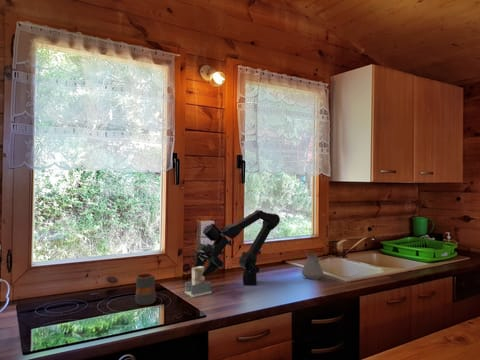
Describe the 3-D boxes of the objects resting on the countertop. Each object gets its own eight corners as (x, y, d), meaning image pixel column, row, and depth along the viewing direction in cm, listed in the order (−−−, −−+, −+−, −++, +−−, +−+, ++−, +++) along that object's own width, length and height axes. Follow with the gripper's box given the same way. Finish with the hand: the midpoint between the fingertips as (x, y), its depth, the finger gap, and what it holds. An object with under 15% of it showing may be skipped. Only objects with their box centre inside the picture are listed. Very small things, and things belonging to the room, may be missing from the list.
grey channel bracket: (203, 289, 183) (203, 278, 183) (211, 293, 176) (211, 282, 176) (184, 292, 177) (184, 282, 177) (192, 297, 171) (192, 286, 171)
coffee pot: (297, 276, 204) (297, 249, 204) (313, 274, 210) (313, 247, 210) (323, 286, 186) (323, 256, 186) (341, 283, 191) (341, 253, 191)
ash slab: (201, 289, 179) (201, 266, 179) (204, 290, 177) (204, 267, 177) (191, 291, 177) (191, 267, 176) (194, 292, 174) (194, 268, 174)
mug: (150, 296, 173) (150, 270, 173) (158, 303, 162) (158, 276, 162) (131, 299, 169) (131, 273, 168) (138, 307, 158) (137, 279, 158)
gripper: (197, 234, 187) (177, 259, 181) (217, 239, 172) (196, 267, 166) (211, 248, 192) (192, 273, 186) (232, 254, 177) (212, 281, 170)
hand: (197, 273), depth 177 cm, fingers open, 9 cm apart
